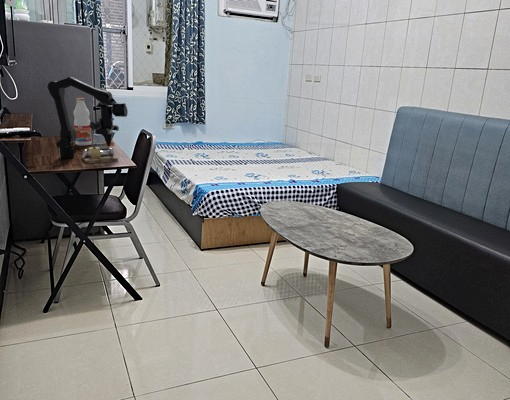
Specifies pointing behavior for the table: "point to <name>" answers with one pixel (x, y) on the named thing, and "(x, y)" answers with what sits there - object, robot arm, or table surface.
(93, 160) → the valve board
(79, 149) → the table surface
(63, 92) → the robot arm
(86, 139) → the fruit juice
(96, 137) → the medicine box
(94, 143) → the valve lever
